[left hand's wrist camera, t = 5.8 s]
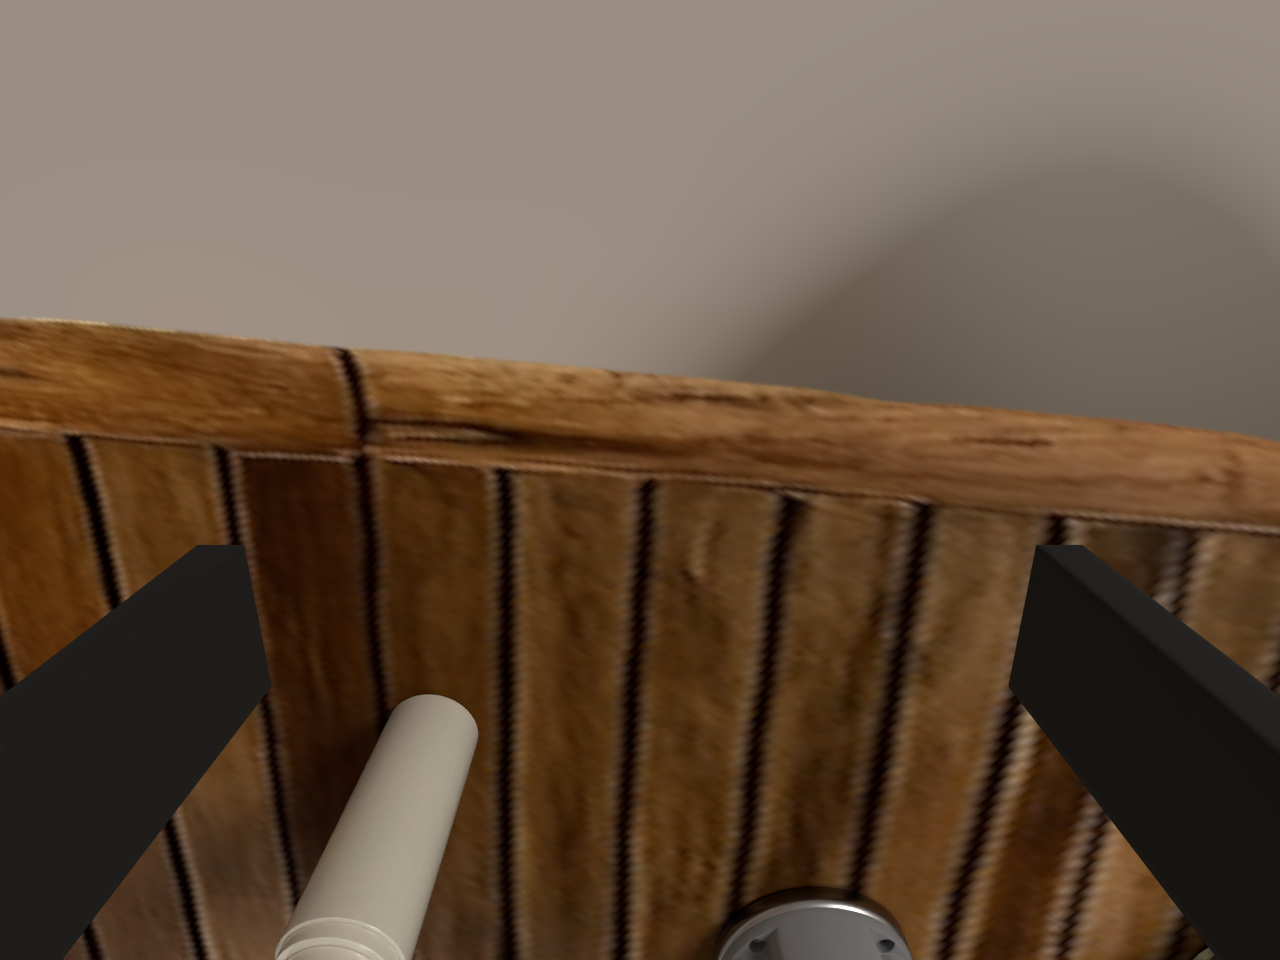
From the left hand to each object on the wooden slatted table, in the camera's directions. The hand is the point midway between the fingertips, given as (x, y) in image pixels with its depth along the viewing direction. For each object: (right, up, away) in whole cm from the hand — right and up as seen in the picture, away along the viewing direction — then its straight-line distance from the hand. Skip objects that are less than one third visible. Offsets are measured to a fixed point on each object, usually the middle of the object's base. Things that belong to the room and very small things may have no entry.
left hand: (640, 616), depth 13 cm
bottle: (-14, -15, +39) cm, 45 cm away
